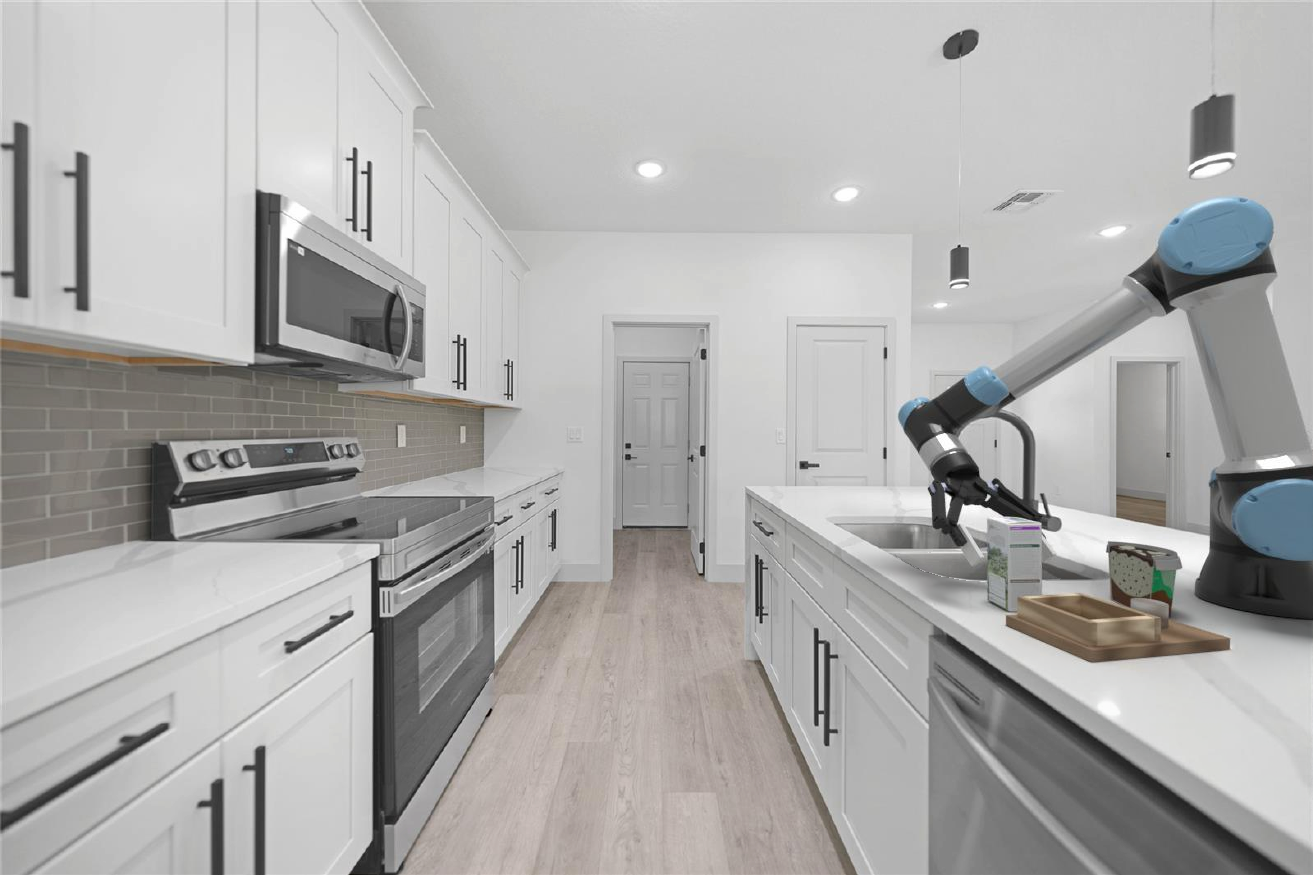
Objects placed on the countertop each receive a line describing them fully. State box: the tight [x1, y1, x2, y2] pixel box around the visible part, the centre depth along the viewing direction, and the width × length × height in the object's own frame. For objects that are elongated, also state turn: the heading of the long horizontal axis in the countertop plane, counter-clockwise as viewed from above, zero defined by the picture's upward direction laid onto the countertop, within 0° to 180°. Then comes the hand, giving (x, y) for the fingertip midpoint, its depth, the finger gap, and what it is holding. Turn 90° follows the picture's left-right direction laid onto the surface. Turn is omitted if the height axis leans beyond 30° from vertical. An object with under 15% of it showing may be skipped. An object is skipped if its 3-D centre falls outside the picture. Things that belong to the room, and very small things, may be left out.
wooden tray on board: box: [1005, 592, 1231, 663], centre depth 75 cm, size 22×13×4 cm, turn 100°
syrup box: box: [986, 516, 1043, 613], centre depth 88 cm, size 6×6×14 cm
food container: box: [1105, 540, 1183, 619], centre depth 86 cm, size 12×6×10 cm, turn 168°
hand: (1014, 560), depth 88 cm, fingers open, 13 cm apart
